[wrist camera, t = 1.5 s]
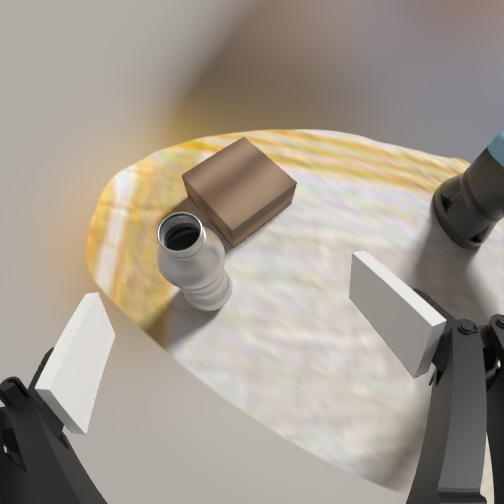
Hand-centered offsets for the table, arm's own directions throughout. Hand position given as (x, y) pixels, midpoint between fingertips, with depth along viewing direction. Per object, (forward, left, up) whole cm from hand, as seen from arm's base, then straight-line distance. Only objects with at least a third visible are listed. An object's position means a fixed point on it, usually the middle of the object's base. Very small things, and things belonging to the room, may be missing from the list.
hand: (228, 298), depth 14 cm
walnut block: (+17, -14, -26) cm, 34 cm away
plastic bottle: (+8, -1, -26) cm, 27 cm away
